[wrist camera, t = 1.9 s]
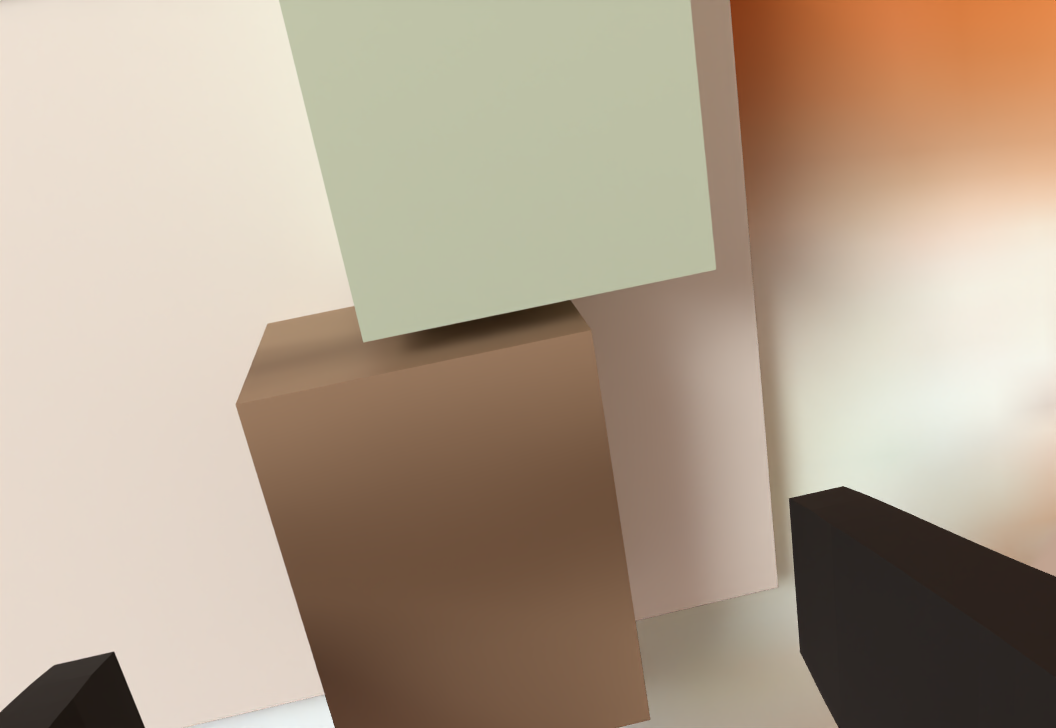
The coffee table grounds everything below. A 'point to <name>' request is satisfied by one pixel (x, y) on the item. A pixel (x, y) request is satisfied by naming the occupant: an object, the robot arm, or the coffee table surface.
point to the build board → (234, 336)
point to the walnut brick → (449, 520)
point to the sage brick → (503, 150)
